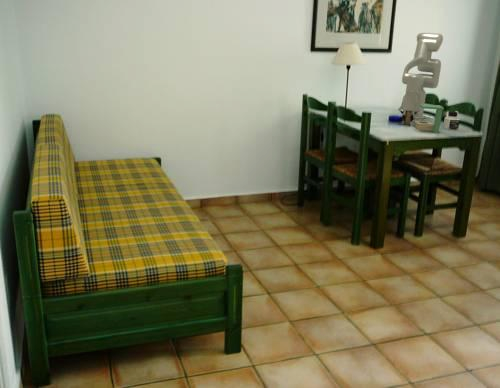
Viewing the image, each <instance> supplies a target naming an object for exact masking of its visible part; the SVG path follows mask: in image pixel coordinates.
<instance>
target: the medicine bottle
mask: <svg viewBox="0 0 500 388" xmlns="http://www.w3.org/2000/svg"><path fill="white" fill-rule="evenodd" d="M458 115H459V111H457V110H448V113H447V117H444V121H443V125H442V128H443V129H444V130H445V129H446V130H448V131H458V130H459V127H460V121H461V119H459V118H458Z"/></svg>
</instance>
